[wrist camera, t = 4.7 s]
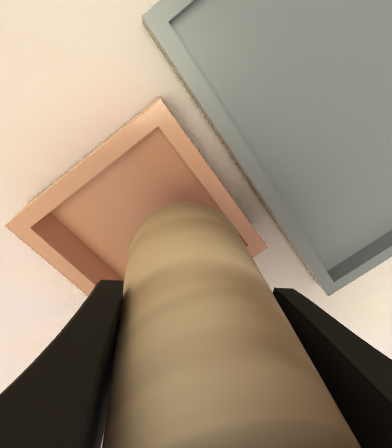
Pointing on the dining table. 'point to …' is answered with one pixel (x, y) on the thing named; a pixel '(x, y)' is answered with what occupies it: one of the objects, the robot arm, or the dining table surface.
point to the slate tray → (298, 114)
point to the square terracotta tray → (122, 199)
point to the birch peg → (209, 347)
